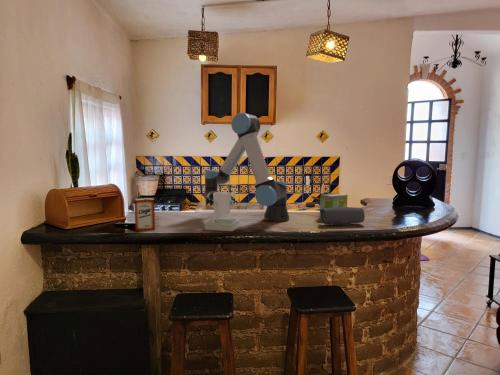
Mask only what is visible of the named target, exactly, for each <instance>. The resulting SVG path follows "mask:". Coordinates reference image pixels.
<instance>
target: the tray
mask: <svg viewBox="0 0 500 375" xmlns="http://www.w3.org/2000/svg"><path fill="white" fill-rule="evenodd" d="M239 227H241V219H240V218H226V217H225V218H224V217H222V218H221V217H214V218H212V219H209V220H208V221H206V222H204V230H207V231H221V232H222V231H224V232H234V231H235V230H236V229H238V228H239Z"/></svg>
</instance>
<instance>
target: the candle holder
mask: <svg viewBox="0 0 500 375" xmlns="http://www.w3.org/2000/svg"><path fill="white" fill-rule="evenodd" d="M231 198H232V192H231V191H230V192H229V191H217V192H214V193H213V200H215V201H216V206H214V205H213V214H214V217H218V218H221V217H222V218H224V217H225V218H226V217H229V216H230V215H231V206H232V205H231Z"/></svg>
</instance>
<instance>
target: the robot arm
mask: <svg viewBox="0 0 500 375" xmlns="http://www.w3.org/2000/svg"><path fill="white" fill-rule="evenodd" d="M230 124H231V125H230V126H231V130H232V131H233V132H234V133H235V134H236V135H237V138H238V139H237V140H236V142H235V143H234V145H233V147H232V148H231V150H230V152H229V154H228V155H227V156H226V159H225V160H224V162H223V164H222V165H221V167H220V168H219V170H217V169H206V170H205V173H204V193H203V197H204V199H205V200H204V202H205V203H206V204H205V205H209V206H210V207H211V206H213V207H214V206H216V201H215V200H213V193H214V192H218V189H219V188H218V185H224V184H227V183H229V182H230V180H231V174H232V173H233V171H234V170H235V168H236V167H237V165H238V163H239V162H240V160H241V158H242V157H243V155H244V154H245V153H246V156H247V159H248V161H249V164H250V167H251V170H252V171H251V172H252V174H253V177H254V180H255V183H254V189H255V192H254V197H255V200H256V201H257V204H259V205H261V206H263V207H266V209H265V211H264V214H263V220H264V221H266V222H272V223H273V222H274V223H275V222H276V223H278V222H279V223H281V222H288V221H290V215H289V212H288V207H287V200H288V198H287V197H288V196H287V194H288V193H287V192H288V190H287V189H288V187H287V186H288V184H287V182H285V181H282V180H281V181H280V180H278V181H277V180H275V178H273V177H271V175H270V172H269V167H268V165H267V162H266V160H265V157H264V153H263V151H262V148H261V145H260V142H259V139H258V135H259V132H260V130H261V126H262V125H261V121H260V119H259V118H258V117H257V116H256V115H253V114H251V113H250V114H249V113H247V112H239V113H236V114H235V115H234V116H233V118H232V119H231V123H230ZM234 204H236V199H235V198H233V197H231V205H230V206H232V207H233V206H235V205H234Z"/></svg>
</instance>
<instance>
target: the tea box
mask: <svg viewBox="0 0 500 375" xmlns="http://www.w3.org/2000/svg"><path fill="white" fill-rule="evenodd" d="M319 198H320V199H319V215H318V216H319V219H320V214H321V210H322V209H324V208H338V207H348V195H347V194H341V193H327V194H320V197H319Z"/></svg>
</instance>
